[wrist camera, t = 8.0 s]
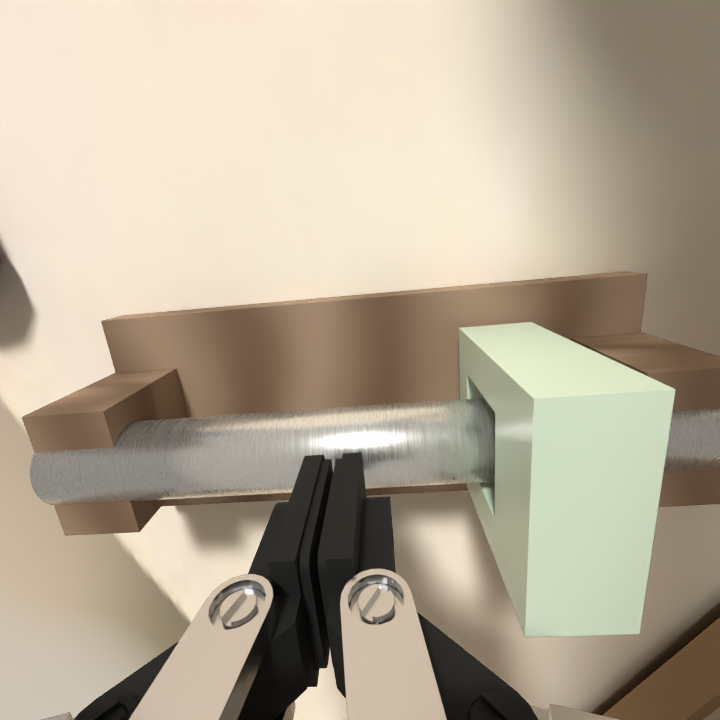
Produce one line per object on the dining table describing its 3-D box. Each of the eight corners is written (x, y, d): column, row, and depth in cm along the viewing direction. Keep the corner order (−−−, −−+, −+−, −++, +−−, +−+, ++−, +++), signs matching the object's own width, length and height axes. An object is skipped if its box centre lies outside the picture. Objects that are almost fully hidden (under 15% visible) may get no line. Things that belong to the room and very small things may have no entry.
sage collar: (461, 472, 18) (524, 636, 10) (458, 327, 16) (533, 398, 8) (526, 468, 18) (639, 634, 10) (531, 321, 16) (675, 389, 8)
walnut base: (168, 489, 22) (83, 586, 15) (122, 315, 19) (-4, 348, 13) (605, 465, 20) (709, 562, 14) (624, 271, 17) (764, 284, 11)
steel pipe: (121, 481, 18) (32, 562, 13) (92, 386, 17) (-17, 438, 12) (652, 451, 16) (760, 530, 12) (667, 343, 15) (796, 384, 10)
